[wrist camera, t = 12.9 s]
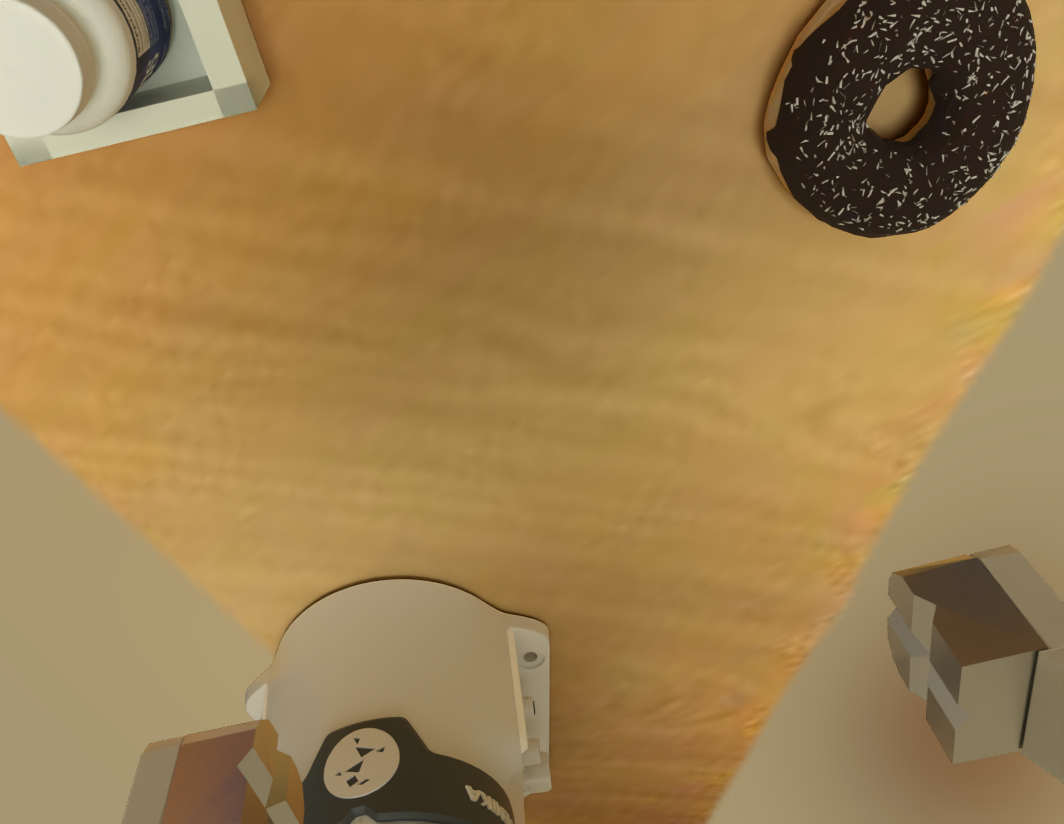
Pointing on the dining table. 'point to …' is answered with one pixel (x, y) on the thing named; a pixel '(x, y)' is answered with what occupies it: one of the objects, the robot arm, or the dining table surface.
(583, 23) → the dining table surface
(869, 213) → the donut
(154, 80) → the rack
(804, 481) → the dining table surface
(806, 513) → the dining table surface
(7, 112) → the pill bottle
